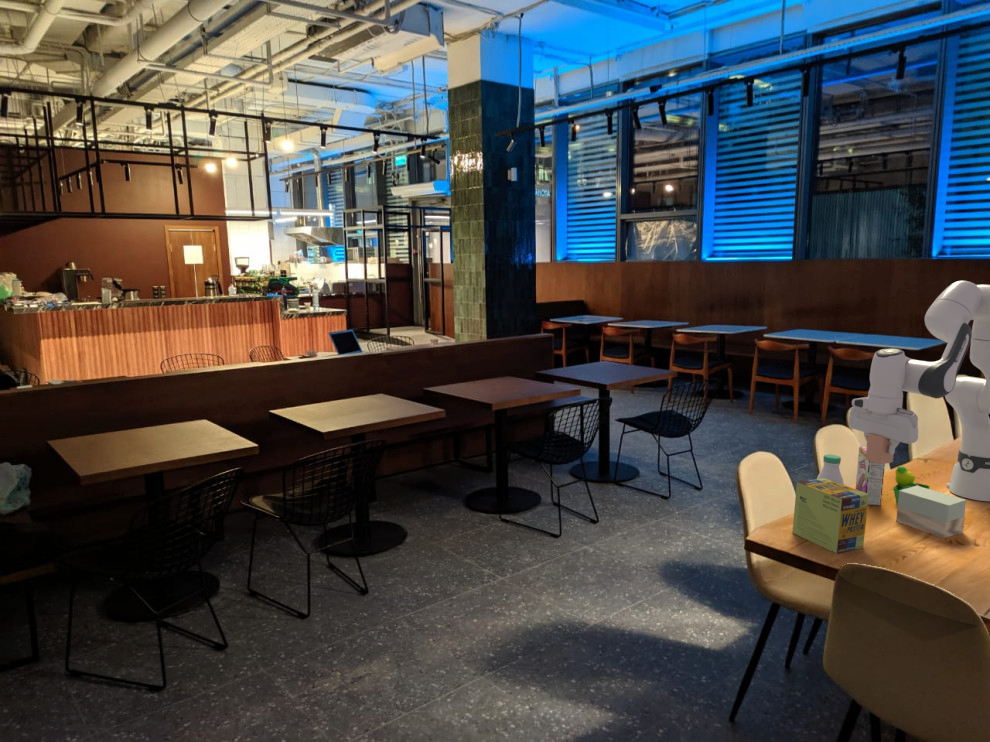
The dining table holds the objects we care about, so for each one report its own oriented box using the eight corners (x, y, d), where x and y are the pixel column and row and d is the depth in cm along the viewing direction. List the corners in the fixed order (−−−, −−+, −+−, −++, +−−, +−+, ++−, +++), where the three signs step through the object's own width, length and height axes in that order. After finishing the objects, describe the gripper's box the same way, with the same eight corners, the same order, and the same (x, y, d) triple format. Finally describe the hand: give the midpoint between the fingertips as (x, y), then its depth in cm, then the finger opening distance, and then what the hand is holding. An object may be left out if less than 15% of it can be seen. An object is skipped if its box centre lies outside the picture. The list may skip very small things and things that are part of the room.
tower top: (914, 501, 210) (916, 485, 210) (964, 516, 198) (966, 499, 198) (897, 506, 206) (899, 490, 205) (946, 522, 194) (948, 505, 193)
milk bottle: (807, 515, 211) (812, 452, 208) (831, 515, 212) (837, 452, 208) (821, 525, 203) (827, 460, 200) (846, 524, 204) (852, 459, 201)
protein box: (836, 554, 184) (842, 499, 181) (791, 533, 198) (795, 481, 195) (864, 548, 188) (870, 493, 185) (818, 527, 202) (822, 476, 199)
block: (877, 457, 207) (880, 431, 205) (892, 462, 202) (895, 435, 201) (865, 459, 205) (867, 433, 204) (880, 464, 200) (883, 437, 199)
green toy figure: (916, 509, 217) (920, 475, 215) (886, 501, 223) (889, 468, 222) (929, 501, 224) (933, 467, 222) (899, 493, 231) (902, 461, 229)
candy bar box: (853, 493, 231) (858, 446, 228) (870, 494, 230) (874, 446, 227) (864, 505, 220) (869, 455, 217) (881, 506, 219) (886, 456, 216)
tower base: (914, 517, 211) (916, 501, 210) (962, 533, 199) (964, 517, 198) (895, 521, 207) (897, 506, 206) (943, 539, 195) (945, 522, 194)
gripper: (925, 411, 192) (920, 458, 195) (862, 397, 211) (858, 440, 213) (910, 413, 190) (905, 461, 192) (847, 399, 209) (843, 443, 211)
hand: (880, 450), depth 203 cm, fingers closed on block, 5 cm apart
